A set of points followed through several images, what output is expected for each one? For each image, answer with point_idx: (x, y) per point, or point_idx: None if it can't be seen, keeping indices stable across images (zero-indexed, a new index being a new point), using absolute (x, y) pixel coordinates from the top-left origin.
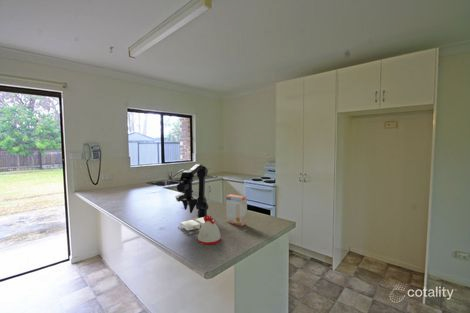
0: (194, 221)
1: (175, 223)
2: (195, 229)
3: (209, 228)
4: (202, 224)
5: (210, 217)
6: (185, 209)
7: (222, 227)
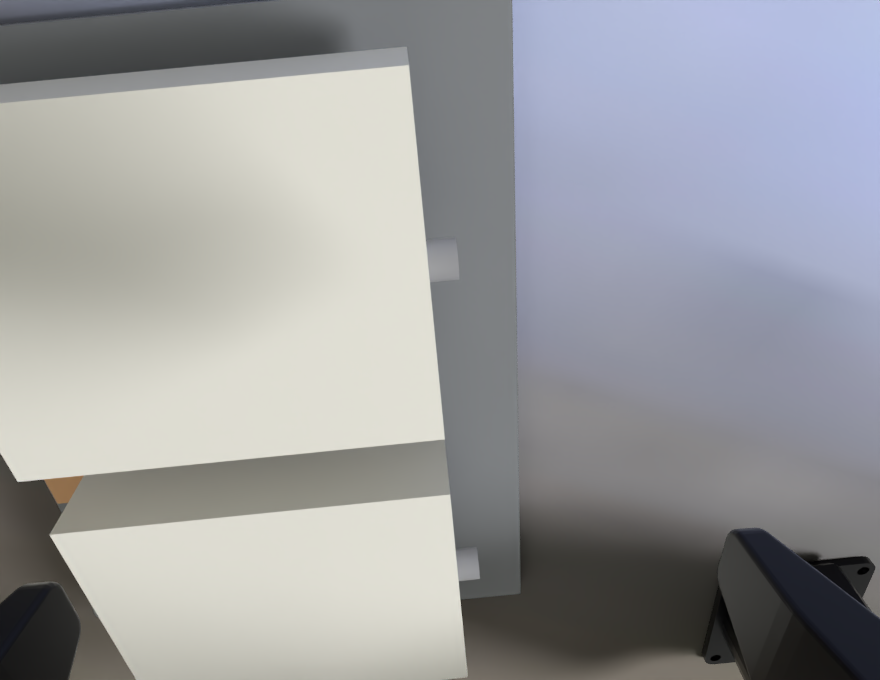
0: (268, 434)
1: (875, 36)
2: None
3: None
4: (72, 509)
5: None
6: (729, 557)
7: (102, 664)
